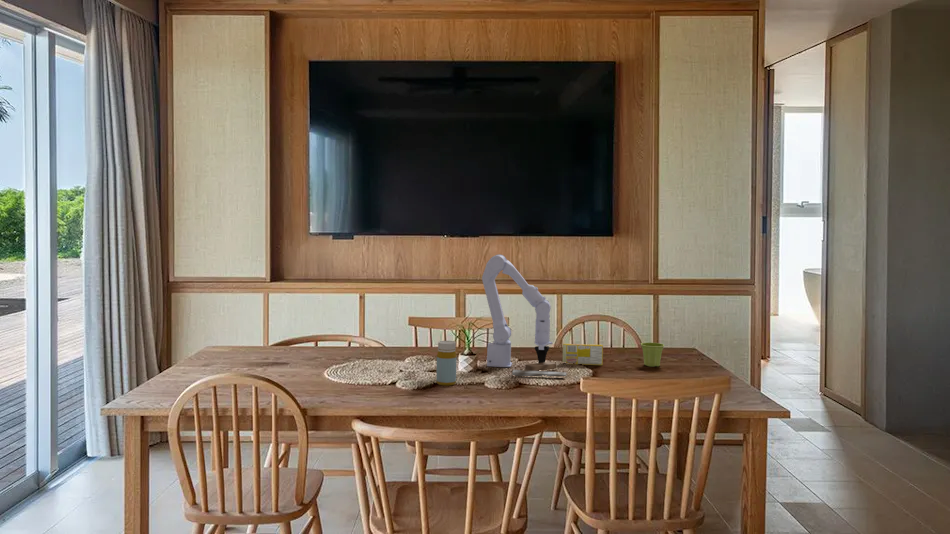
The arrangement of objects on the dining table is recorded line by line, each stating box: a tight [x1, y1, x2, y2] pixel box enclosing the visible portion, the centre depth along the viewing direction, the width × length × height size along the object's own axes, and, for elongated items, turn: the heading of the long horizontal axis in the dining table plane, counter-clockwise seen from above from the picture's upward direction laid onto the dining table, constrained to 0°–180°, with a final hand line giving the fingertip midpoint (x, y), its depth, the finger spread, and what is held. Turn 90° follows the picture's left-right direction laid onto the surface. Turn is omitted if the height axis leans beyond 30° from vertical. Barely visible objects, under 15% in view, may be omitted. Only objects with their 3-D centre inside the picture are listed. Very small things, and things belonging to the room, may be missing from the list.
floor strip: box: [511, 369, 567, 377], centre depth 299 cm, size 20×6×2 cm, turn 82°
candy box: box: [562, 343, 604, 366], centre depth 323 cm, size 16×2×8 cm, turn 84°
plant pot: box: [640, 342, 665, 367], centre depth 323 cm, size 9×9×9 cm
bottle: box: [435, 340, 458, 387], centre depth 283 cm, size 7×7×15 cm
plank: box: [524, 361, 557, 371], centre depth 309 cm, size 12×4×3 cm, turn 123°
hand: (541, 364), depth 315 cm, fingers closed
